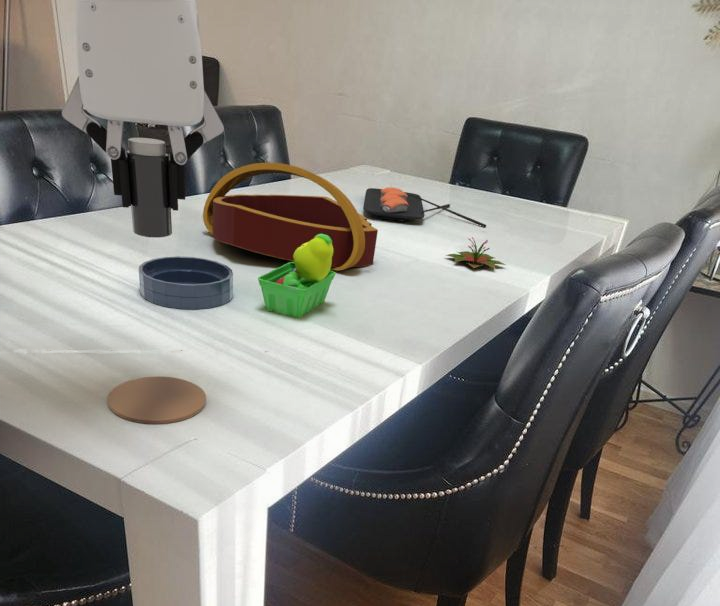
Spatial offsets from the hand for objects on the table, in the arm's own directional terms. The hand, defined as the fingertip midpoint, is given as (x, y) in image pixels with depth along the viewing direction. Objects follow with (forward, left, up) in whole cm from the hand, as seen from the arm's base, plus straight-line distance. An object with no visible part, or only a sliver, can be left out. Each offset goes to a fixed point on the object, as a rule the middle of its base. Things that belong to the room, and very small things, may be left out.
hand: (150, 203), depth 61 cm
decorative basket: (+22, +54, -19) cm, 61 cm away
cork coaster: (0, -4, -19) cm, 19 cm away
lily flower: (+60, +52, -19) cm, 81 cm away
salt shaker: (0, 0, -3) cm, 3 cm away
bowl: (+4, +28, -19) cm, 34 cm away
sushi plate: (+63, +93, -19) cm, 114 cm away
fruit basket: (+20, +24, -19) cm, 37 cm away
